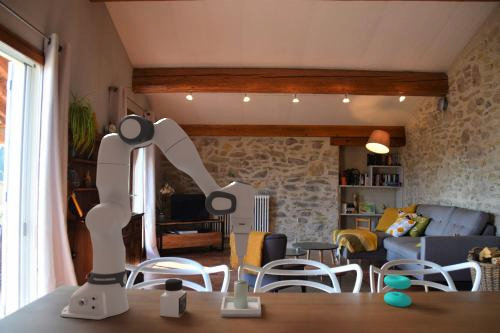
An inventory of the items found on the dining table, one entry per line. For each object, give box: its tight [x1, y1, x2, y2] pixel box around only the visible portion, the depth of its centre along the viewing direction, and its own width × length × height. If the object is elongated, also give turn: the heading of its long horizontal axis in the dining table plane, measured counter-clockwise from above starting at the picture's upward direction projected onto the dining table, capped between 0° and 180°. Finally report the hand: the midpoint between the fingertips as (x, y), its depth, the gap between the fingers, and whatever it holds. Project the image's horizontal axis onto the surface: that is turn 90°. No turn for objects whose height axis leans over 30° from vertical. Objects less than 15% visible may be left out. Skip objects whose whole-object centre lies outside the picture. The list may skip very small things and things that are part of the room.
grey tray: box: [220, 296, 262, 318], centre depth 137 cm, size 14×14×2 cm
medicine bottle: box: [159, 277, 187, 319], centre depth 133 cm, size 7×7×12 cm
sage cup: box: [233, 279, 249, 309], centre depth 137 cm, size 5×5×9 cm
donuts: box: [383, 274, 412, 308], centre depth 146 cm, size 10×10×10 cm
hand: (240, 263), depth 137 cm, fingers open, 8 cm apart
